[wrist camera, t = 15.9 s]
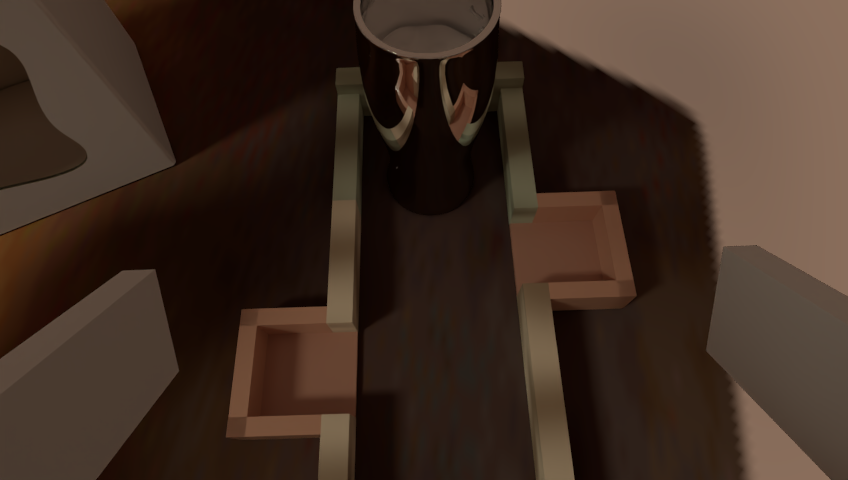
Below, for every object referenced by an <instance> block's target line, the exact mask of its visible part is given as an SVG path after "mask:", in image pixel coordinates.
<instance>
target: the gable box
mask: <svg viewBox="0 0 848 480" xmlns="http://www.w3.org/2000/svg"><path fill="white" fill-rule="evenodd" d="M175 163H176V160H175V157H174V154H173V151H172V149H171V146H170V143H169V140H168V137H167V134H166V131H165V129H164V126H163V123H162V120H161V117H160V114H159V111H158V108H157V106H156V103H155V100H154V97H153V94H152V91H151V88H150V86H149V83H148V80H147V77H146V74H145V71H144V68H143V66H142V63H141V60H140V57H139V54H138V51H137V48H136V45H135V43H134V42H133V40H132V39H131V37H130V36H129V35H128V33H127V32H126V30H125V29H124V27H123V26H122V25H121V23H120V22H119V20H118V19H117V18H116V16H115V15H114V13H113V12H112V10H111V9H110V8H109V6H108V5H107V3H106V2H105V1H104V0H0V235H1V234H3V233H6V232H8V231H11V230H13V229H16V228H18V227H21V226H23V225H26V224H28V223H31V222H33V221H36V220H38V219H41V218H43V217H46V216H48V215H51V214H53V213H56V212H58V211H61V210H63V209H66V208H68V207H71V206H73V205H76V204H78V203H81V202H83V201H86V200H88V199H91V198H93V197H96V196H98V195H101V194H103V193H106V192H108V191H111V190H113V189H116V188H118V187H121V186H123V185H126V184H128V183H131V182H133V181H136V180H138V179H141V178H143V177H146V176H148V175H151V174H153V173H156V172H158V171H161V170H163V169H166V168H168V167H171V166H173V165H174V164H175Z"/></svg>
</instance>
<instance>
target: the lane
mask: <svg viewBox="0 0 848 480" xmlns="http://www.w3.org/2000/svg"><path fill="white" fill-rule="evenodd" d="M523 82H524V71H523V64H522V61H512V62H497V71H496V78H495V83H494V88H493V93H492V98H491V101H490V104H489V107H488V110H487V112H490V111H497V115H498V125H499V134H500V144H501V153H502V163H503V172H504V181H505V191H506V200H507V210H508V219H509V224H511V223H532V222H533V220H534V217H535V214H536V212H537V209H538V202H537V195H536V187H535V180H534V172H533V165H532V157H531V150H530V143H529V135H528V128H527V120H526V113H525V105H524V98H523V90H522V86H523ZM335 85H336V89H337V93H338V103H337V122H336V142H335V161H334V181H333V200H332V220H331V239H330V259H329V278H328V298H327V317H326V324H327V325H328V326H329V328H330V329H331V330H332V332H333V333H334V332H358V324H359V284H360V244H361V204H362V164H363V125H364V116H372V115H371V112H370V110H369V107H368V104H367V102H366V98H365V94H364V90H363V85H362V81H361V76H360V69H359V67H353V68H336V83H335ZM517 304H518V313H519V323H520V332H521V342H522V351H523V361H524V370H525V379H526V389H527V398H528V408H529V417H530V427H531V436H532V445H533V455H534V464H535V474H536V480H575V479H574V471H573V464H572V456H571V449H570V441H569V434H568V426H567V419H566V411H565V404H564V397H563V389H562V382H561V374H560V367H559V359H558V352H557V344H556V337H555V329H554V322H553V314H552V307H551V299H550V292H549V284H548V283H523V284H522V286H521V288H520V291H519V293H518V295H517ZM355 444H356V418H355V417H354V416H352V415H351V414H322V415H321V434H320V453H319V473H318V480H355Z"/></svg>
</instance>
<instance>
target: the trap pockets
mask: <svg viewBox="0 0 848 480" xmlns="http://www.w3.org/2000/svg"><path fill="white" fill-rule="evenodd" d="M536 195H537V202H538V209H537V212H536V214H535V217H534V220H533V222H532V223H511V224H509V229H510V238H511V247H512V257H513V266H514V276H515V285H516V295H518V293H519V291H520V288H521V286H522V284H523V283H548V284H549V292H550V299H551V307H552V311H561V310H591V309H621V308H624V307H625V306H626V305H627V304H628V303H629V302H631V301H632V300H633V299H634V298H635V297H636V296H637V294H636V290H635V285H634V280H633V275H632V270H631V265H630V260H629V256H628V251H627V246H626V241H625V236H624V231H623V227H622V222H621V217H620V212H619V207H618V202H617V197H616V193H615V191H592V192H563V193H536ZM326 317H327V306H323V307H293V308H263V309H242V310H241V318H240V326H239V335H238V343H237V351H236V359H235V368H234V376H233V384H232V392H231V400H230V409H229V417H228V425H227V433H226V437H227V438H233V439H239V440H257V439H290V438H320V434H321V415H322V414H351V415H352V416H354V417H355V418H356V404H357V364H358V332H334V333H333V332H332V330H331V329H330V328H329V326H328V325H327V324H326Z"/></svg>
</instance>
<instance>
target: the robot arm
mask: <svg viewBox="0 0 848 480" xmlns="http://www.w3.org/2000/svg"><path fill="white" fill-rule="evenodd" d="M706 351H707V352H708V353H709V354H710V355H711V356H712V357H713V358H714V359H715V361H716V362H717V363H718V364H719V365H720V366H721V367H722V368H723V369H724V370H725V371H726V372H727V373H728V374H729V375H730V376H731V377H732V378H733V379H734V380H735V381H736V382H737V383H738V384H739V385H740V386H741V387H742V388H743V389H744V390H745V391H746V393H748V395H749V396H750V397H751V398H752V399H753V400H754V401H755V402H756V403H757V404H758V405H759V406H760V407H761V408H762V409H763V410H764V411H765V412H766V413H767V414H768V415H769V416H770V417H771V418H772V419H773V420H774V421H775V422H776V423H777V424H778V425H779V427H780V428H781V429H782V430H783V431H784V432H785V433H786V434H788V436H789V437H790V438H791V439H792V440H793V441H794V442H795V443H796V444H797V445H798V446H799V447H800V448H801V449H802V450H803V451H804V452H805V453H806V454H807V455H808V456H809V457H810V458H811V459H812V461H813V462H815V464H816V465H817V466H818V467H819V468H820V469H821V470H822V471H823V472H824V473H825V474H826V475H827V476H828V477H829V478H830V479H831V480H848V296H846V295H844V294H842V293H840V292H839V291H837V290H835V289H833V288H831V287H830V286H828V285H826V284H825V283H823V282H821V281H819V280H817V279H816V278H813V277H812V276H810V275H809V274H807V273H805V272H803V271H801V270H800V269H798V268H796V267H794V266H792V265H791V264H789V263H787V262H785V261H784V260H782V259H780V258H778V257H777V256H775V255H773V254H771V253H769V252H768V251H766V250H764V249H762V248H761V247H758V246H757V245H755V246H754V245H753V246H728V247H723V252H722V258H721V264H720V270H719V276H718V282H717V288H716V294H715V300H714V306H713V312H712V318H711V324H710V330H709V336H708V342H707V348H706ZM178 372H179V369H178V364H177V360H176V356H175V351H174V347H173V343H172V339H171V334H170V330H169V326H168V322H167V317H166V313H165V309H164V305H163V300H162V296H161V292H160V288H159V283H158V279H157V275H156V270H155V269H151V270H126V271H121V272H120V273H118V274H117V275H116V276H114V277H113V278H111V279H110V280H109V281H107V282H106V283H105V284H103V285H102V286H100V287H99V288H98V289H96V290H95V291H93V292H92V293H91V294H89V295H88V296H87V297H85V298H84V299H82V300H81V301H80V302H78V303H77V304H75V305H74V306H73V307H71V308H70V309H69V310H67V311H66V312H64V313H63V314H62V315H60V316H59V317H57V318H56V319H55V320H53V321H52V322H51V323H49V324H48V325H46V326H45V327H44V328H42V329H41V330H39V331H38V332H37V333H35V334H34V335H33V336H31V337H30V338H28V339H27V340H26V341H24V342H23V343H21V344H20V345H19V346H17V347H16V348H15V349H13V350H12V351H10V352H9V353H8V354H6V355H5V356H3V357H2V358H1V359H0V480H96V479H97V478H98V477H99V475H100V474H101V473H102V471H103V470H104V469H105V467H106V466H107V465H108V463H109V462H110V461H111V460H112V458H113V457H114V456H115V454H116V453H117V452H118V450H119V449H120V448H121V446H122V445H123V444H124V442H125V441H126V440H127V439H128V437H129V436H130V435H131V433H132V432H133V431H134V429H135V428H136V427H137V425H138V424H139V423H140V422H141V420H142V419H143V418H144V416H145V415H146V414H147V412H148V411H149V410H150V408H151V407H152V406H153V405H154V403H155V402H156V401H157V399H158V398H159V397H160V395H161V394H162V393H163V391H164V390H165V389H166V388H167V386H168V385H169V384H170V382H171V381H172V380H173V378H174V377H175V376H176V374H177V373H178Z"/></svg>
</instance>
